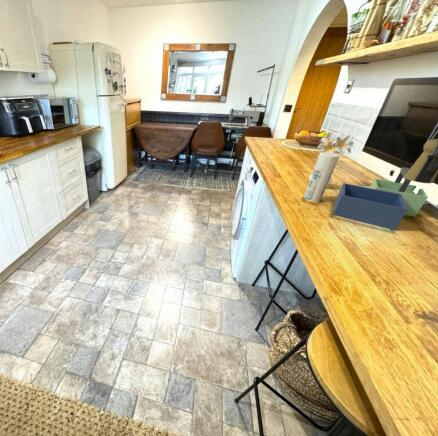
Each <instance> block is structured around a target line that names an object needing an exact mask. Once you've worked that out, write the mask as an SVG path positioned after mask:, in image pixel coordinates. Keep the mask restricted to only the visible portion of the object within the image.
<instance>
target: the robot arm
mask: <svg viewBox="0 0 438 436" xmlns="http://www.w3.org/2000/svg"><path fill="white" fill-rule="evenodd" d="M432 139H438V122H437V123H436V124H435V126H434V128H433V129H432V132H431V133H430V135H429V137H428V138H427V140H426V142H427V141H429V140H432ZM427 158H428V159H427V160H426V162H425V164H424V165H423V167H422V169H421V170H420V172H419V174H418V175H417V177H416V179H415V181H419V182H418V183H420V182H425V183H424V184H430V183H429V182H430V180H431V179H432V177H433V176H434V174H435V173H436V171H437V169H438V143H437V145H436V147H435V149H434V151H433V153H432V155H427ZM415 181H414V182H415Z"/></svg>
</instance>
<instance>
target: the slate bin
mask: <svg viewBox="0 0 438 436" xmlns="http://www.w3.org/2000/svg"><path fill="white" fill-rule="evenodd" d="M407 210H408V209H407V207H406V204H405V202H404V200H403V197H402V195H401V194H397V193H392V192H387V191H382V190H377V189H371V188H370V187H366V186H361V185H354V184H351V183H350V184H349V183H345V182H343V183H342V184H341V187H340V189H339V192H338V194H337V196H336V198H335V201H334V207H333V213H332V214H333V216H336V217H339V218H343V219H348V220H352V221H356V222H360V223H363V224H367V225H371V226H375V227H379V228H383V229H388V230H392V231H396V229H397V227H398V226H399V224H400V223H401V221H402V220H403V218H404V217H405V216H406V215H405V214H406V212H407Z"/></svg>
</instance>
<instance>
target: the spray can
mask: <svg viewBox="0 0 438 436" xmlns="http://www.w3.org/2000/svg"><path fill="white" fill-rule="evenodd" d="M339 159H340V155H339V153H330V152H323V151H321V152H320V153H319V154H318V157H317V160H316V162H315V165H314V168H313V171H312V173H311V175H312V176H311V175H310V176H311V179H310V180H309V182H308V185H307V187H306V190H305V192H304V195H303V198H304V199H305V200H306V201H308V202H314V203H318V202H321V200H322V198H323V196H324V193H325V191H326V189H327V187H328V186H327V184H328V182H329V180H330V177H332V175H333V173H334V170H335V168H336V165H337V163H338V161H339Z"/></svg>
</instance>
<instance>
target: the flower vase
mask: <svg viewBox="0 0 438 436" xmlns="http://www.w3.org/2000/svg"><path fill="white" fill-rule="evenodd" d="M335 136H336V135H335V133H334V132H332V133H331V132H330V131H329V132H328V133H326V135H325V136H324V137H322V138H321V139H320V140H318V142H319V144H318V145H317V149H320V150H323V151H322V152H330V153H335V154H337V152H338V151H339V153H340V154H341V155H345V152H346V151H347V153H348V154H351V153H352V148H353V145H354V144H355V143H354V141H353V139H354V136H351V134H346V135H344V132H343V131H339V136H337V137H335ZM345 149H346V150H345ZM311 176H312V174H311V175H310V176H309V178H308V180H309V181H310V179H311ZM332 183H333V177H332V176H331V177H330V180H329V182H328V184H327V187H328V186H329V185H331V184H332Z"/></svg>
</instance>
